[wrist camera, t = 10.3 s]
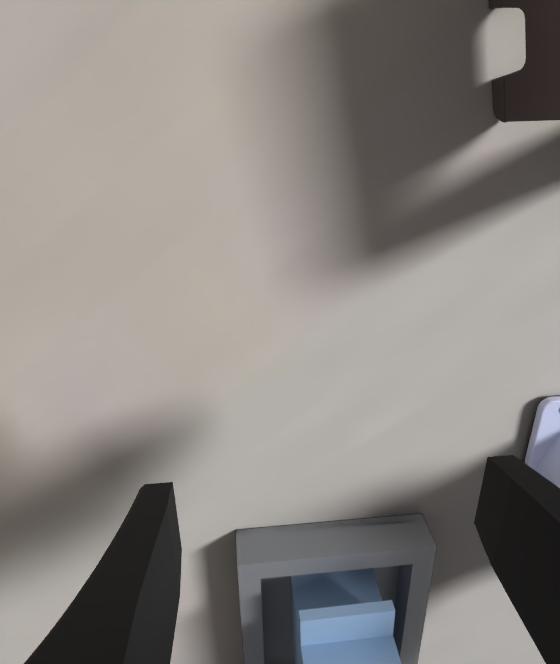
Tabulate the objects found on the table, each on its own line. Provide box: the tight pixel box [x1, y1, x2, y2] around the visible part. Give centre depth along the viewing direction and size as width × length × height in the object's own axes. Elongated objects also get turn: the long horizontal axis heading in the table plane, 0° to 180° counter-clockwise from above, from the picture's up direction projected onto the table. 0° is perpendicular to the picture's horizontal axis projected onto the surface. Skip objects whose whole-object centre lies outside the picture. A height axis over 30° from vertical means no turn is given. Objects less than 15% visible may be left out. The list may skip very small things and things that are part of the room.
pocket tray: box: [236, 514, 437, 664], centre depth 27 cm, size 9×11×2 cm
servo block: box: [291, 568, 402, 664], centre depth 25 cm, size 4×9×6 cm, turn 2°
